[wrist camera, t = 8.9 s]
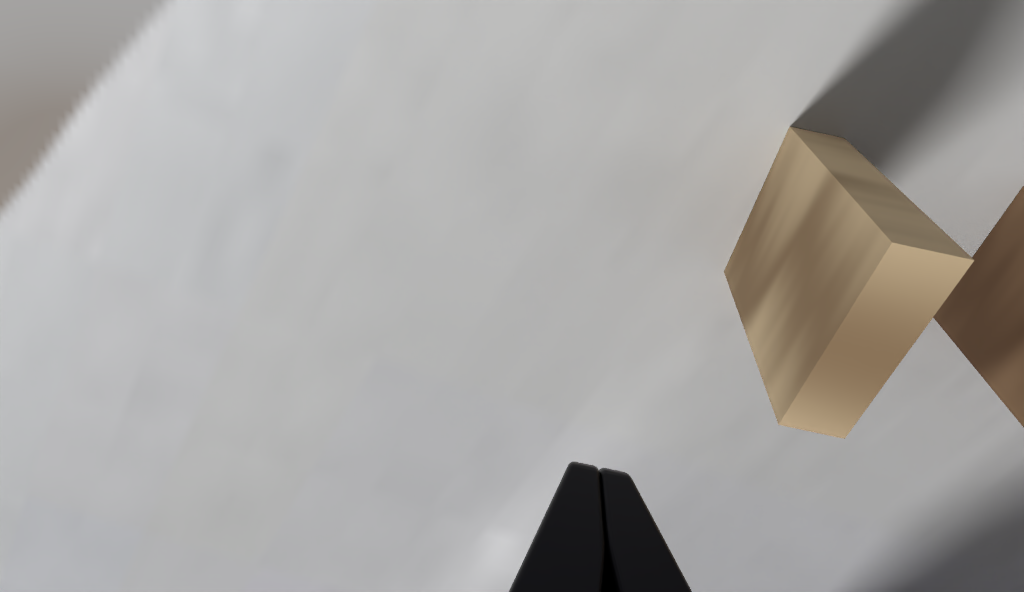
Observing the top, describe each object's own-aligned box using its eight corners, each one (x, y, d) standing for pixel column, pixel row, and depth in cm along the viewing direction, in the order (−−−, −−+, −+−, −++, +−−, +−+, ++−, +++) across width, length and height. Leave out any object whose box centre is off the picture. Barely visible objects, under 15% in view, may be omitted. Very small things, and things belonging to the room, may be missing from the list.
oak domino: (770, 281, 20) (844, 438, 14) (724, 271, 20) (778, 424, 14) (844, 138, 17) (974, 260, 11) (789, 126, 17) (892, 242, 11)
